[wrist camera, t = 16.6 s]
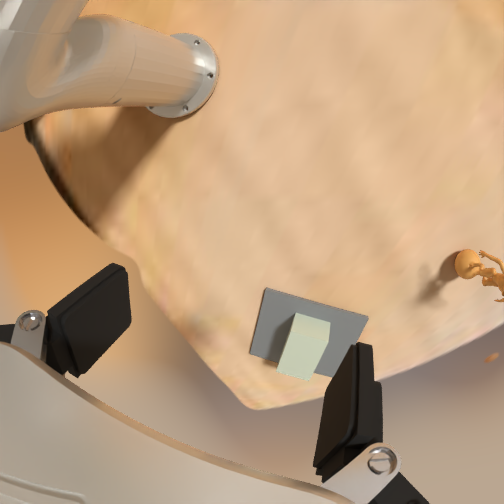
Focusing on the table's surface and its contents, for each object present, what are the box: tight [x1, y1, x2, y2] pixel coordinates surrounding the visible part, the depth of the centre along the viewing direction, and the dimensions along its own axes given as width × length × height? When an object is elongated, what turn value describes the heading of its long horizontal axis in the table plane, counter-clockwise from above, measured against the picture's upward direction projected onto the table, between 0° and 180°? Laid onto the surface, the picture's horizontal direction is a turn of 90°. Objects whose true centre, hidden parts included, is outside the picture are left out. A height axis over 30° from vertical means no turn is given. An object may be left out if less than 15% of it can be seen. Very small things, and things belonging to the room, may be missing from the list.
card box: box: [276, 313, 330, 381], centre depth 43 cm, size 9×6×4 cm, turn 170°
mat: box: [250, 288, 368, 377], centre depth 45 cm, size 16×14×1 cm
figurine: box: [455, 249, 504, 302], centre depth 27 cm, size 8×6×12 cm
